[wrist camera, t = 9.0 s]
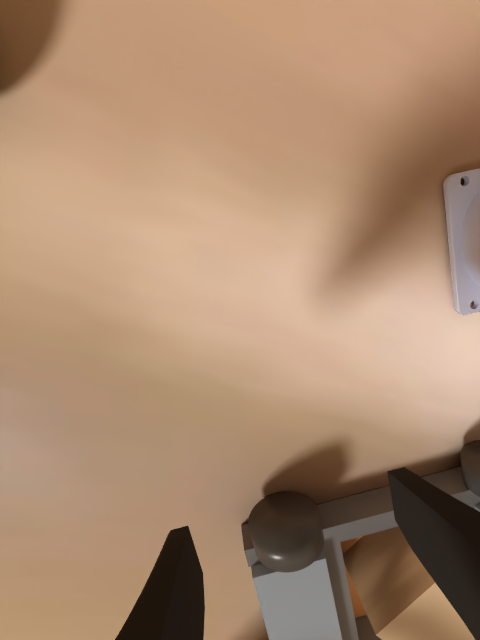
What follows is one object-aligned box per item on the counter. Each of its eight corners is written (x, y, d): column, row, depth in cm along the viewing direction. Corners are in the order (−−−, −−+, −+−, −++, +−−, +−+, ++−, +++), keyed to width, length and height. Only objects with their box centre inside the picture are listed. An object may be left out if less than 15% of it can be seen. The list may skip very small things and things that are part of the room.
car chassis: (513, 430, 23) (578, 469, 19) (523, 597, 26) (580, 661, 22) (235, 503, 23) (242, 560, 19) (278, 666, 26) (292, 746, 22)
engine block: (389, 510, 23) (438, 580, 19) (439, 555, 25) (496, 631, 20) (341, 555, 24) (375, 635, 19) (392, 597, 25) (437, 682, 20)
